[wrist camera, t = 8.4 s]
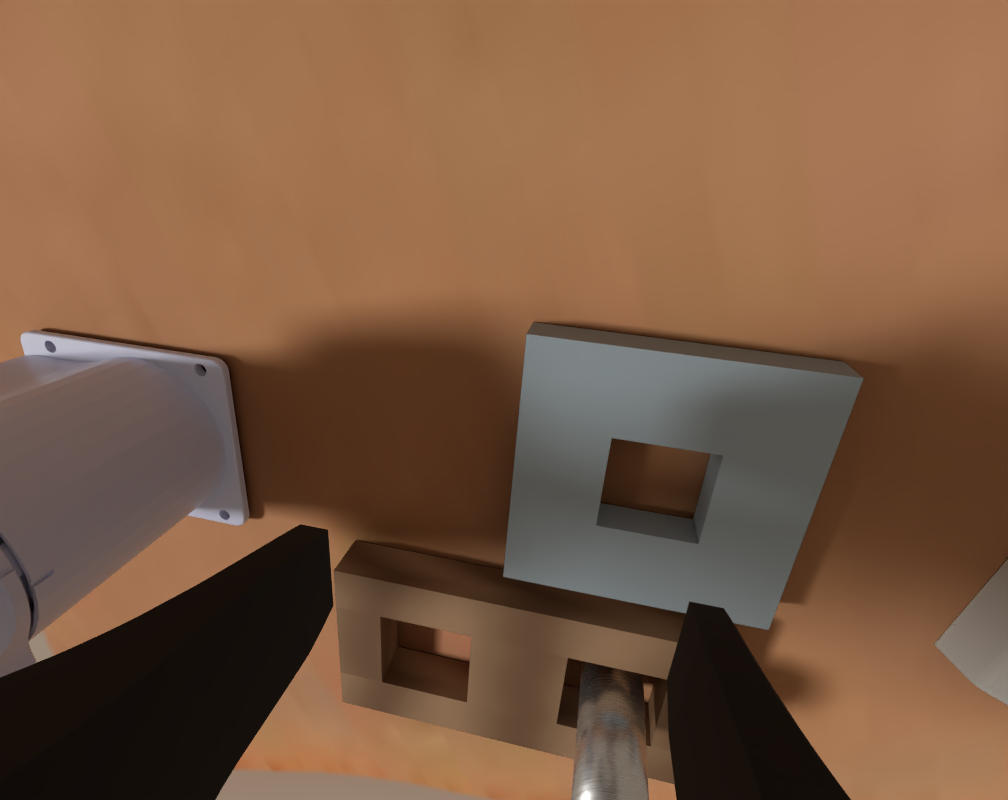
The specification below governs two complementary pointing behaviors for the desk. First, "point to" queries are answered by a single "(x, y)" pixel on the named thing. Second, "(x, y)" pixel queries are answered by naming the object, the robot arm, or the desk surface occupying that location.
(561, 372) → the socket block
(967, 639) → the grey arched plastic casing
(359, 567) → the rack
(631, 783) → the peg
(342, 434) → the desk surface
